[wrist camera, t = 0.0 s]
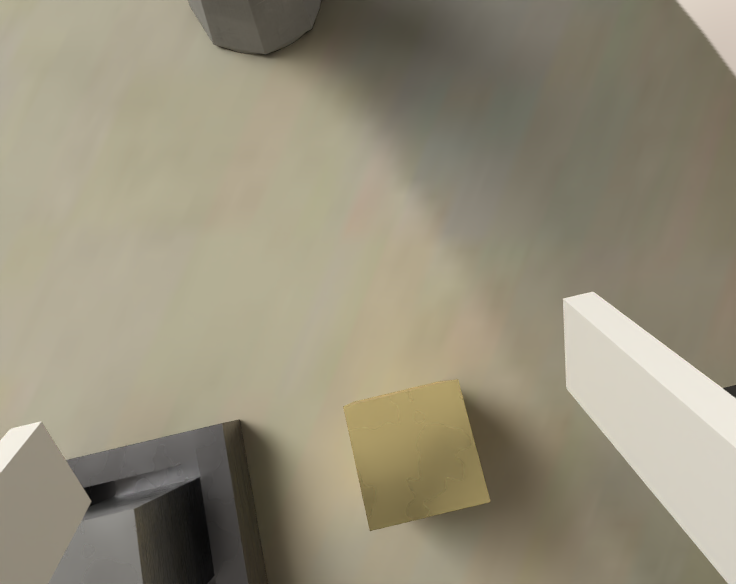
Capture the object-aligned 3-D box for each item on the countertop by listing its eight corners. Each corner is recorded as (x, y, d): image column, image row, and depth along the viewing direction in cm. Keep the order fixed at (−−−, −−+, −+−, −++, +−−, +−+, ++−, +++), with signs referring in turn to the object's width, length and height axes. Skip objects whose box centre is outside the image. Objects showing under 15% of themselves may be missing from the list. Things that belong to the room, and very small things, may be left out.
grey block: (214, 575, 25) (150, 646, 18) (121, 597, 25) (21, 677, 18) (200, 476, 26) (133, 508, 19) (109, 498, 26) (11, 537, 19)
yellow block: (462, 472, 26) (490, 502, 19) (373, 493, 26) (369, 531, 19) (439, 381, 27) (458, 379, 20) (353, 401, 27) (343, 406, 20)
